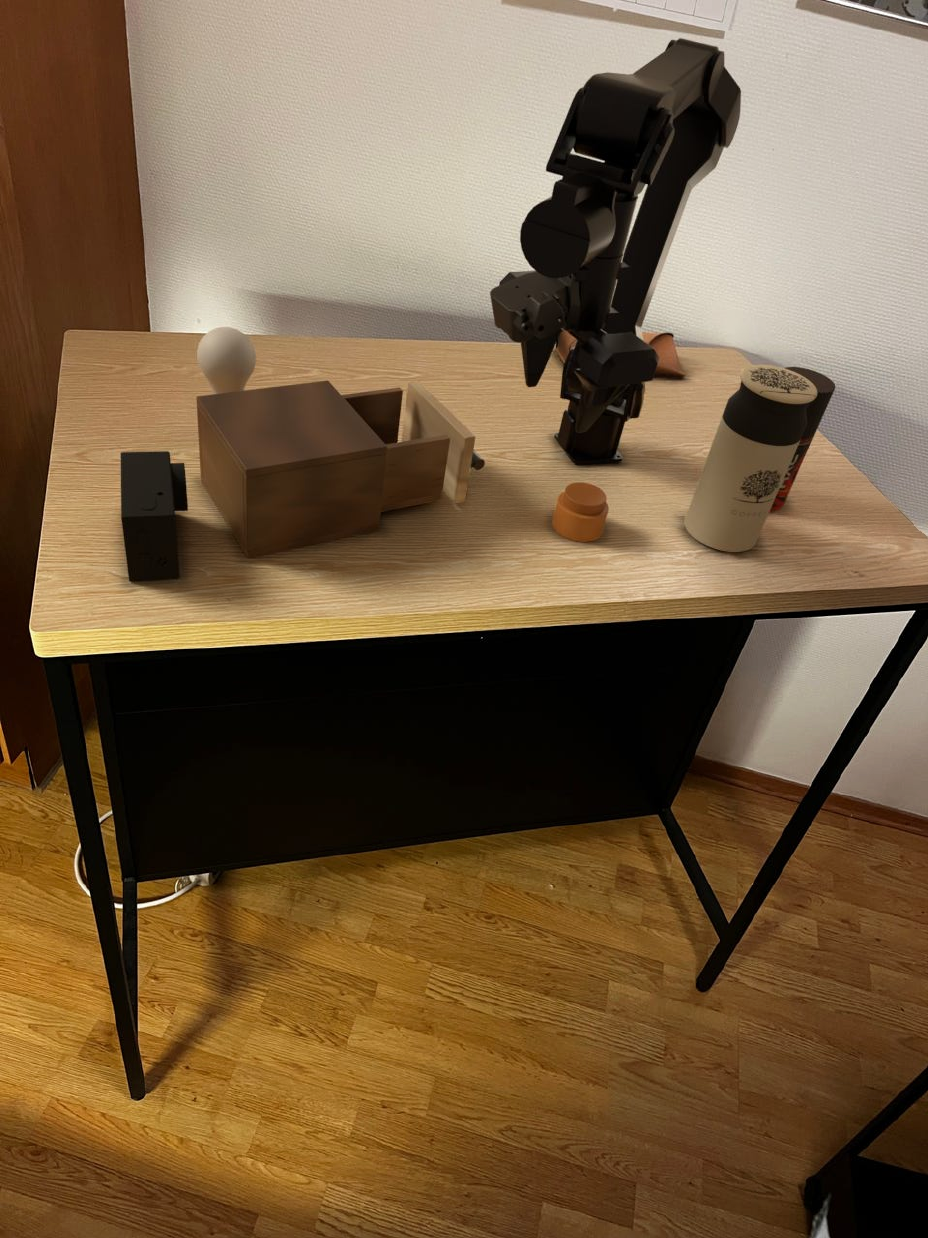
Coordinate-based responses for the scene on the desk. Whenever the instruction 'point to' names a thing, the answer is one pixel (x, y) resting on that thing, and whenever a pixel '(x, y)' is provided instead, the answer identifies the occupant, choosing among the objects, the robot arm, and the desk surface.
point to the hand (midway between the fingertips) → (555, 408)
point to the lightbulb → (226, 359)
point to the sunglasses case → (658, 341)
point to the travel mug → (749, 457)
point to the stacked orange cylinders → (581, 512)
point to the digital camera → (151, 513)
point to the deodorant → (813, 420)
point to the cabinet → (290, 466)
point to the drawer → (418, 446)
